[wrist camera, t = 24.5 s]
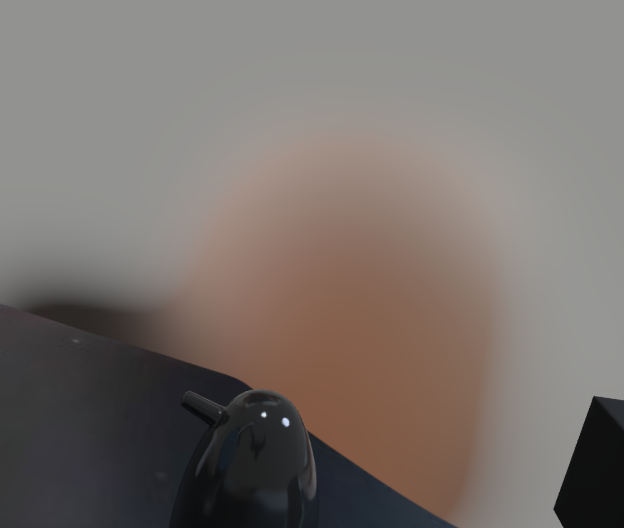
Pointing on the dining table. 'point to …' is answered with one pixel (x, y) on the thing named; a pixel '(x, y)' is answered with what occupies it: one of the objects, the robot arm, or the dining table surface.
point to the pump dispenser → (248, 466)
